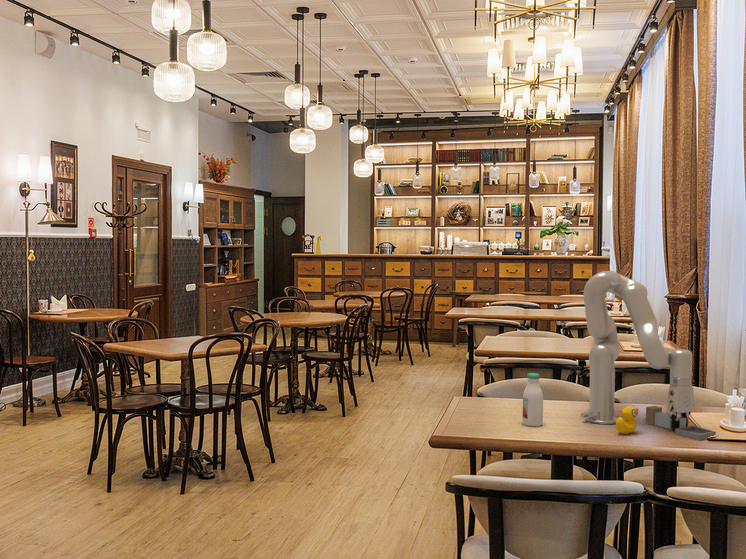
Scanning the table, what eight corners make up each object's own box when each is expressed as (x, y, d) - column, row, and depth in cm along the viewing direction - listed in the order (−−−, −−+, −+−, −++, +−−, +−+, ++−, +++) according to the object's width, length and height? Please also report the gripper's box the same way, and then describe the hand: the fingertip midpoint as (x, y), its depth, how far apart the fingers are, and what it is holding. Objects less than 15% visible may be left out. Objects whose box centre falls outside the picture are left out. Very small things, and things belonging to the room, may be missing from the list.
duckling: (631, 429, 261) (631, 403, 260) (643, 432, 256) (643, 406, 256) (611, 433, 255) (612, 407, 254) (623, 437, 250) (624, 410, 250)
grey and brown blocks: (668, 429, 261) (668, 412, 261) (645, 423, 270) (646, 407, 270) (677, 427, 263) (677, 411, 263) (654, 421, 273) (654, 405, 272)
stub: (679, 432, 257) (680, 418, 257) (670, 429, 261) (670, 416, 261) (685, 431, 259) (686, 417, 259) (676, 428, 263) (677, 415, 262)
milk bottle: (544, 423, 269) (545, 373, 268) (540, 427, 262) (541, 376, 261) (524, 421, 272) (525, 371, 271) (520, 425, 265) (521, 374, 264)
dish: (698, 440, 246) (698, 434, 246) (675, 434, 254) (675, 428, 254) (715, 437, 251) (715, 431, 251) (692, 430, 259) (692, 425, 259)
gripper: (674, 385, 251) (673, 434, 252) (703, 381, 260) (702, 429, 260) (657, 382, 258) (656, 430, 259) (686, 378, 266) (685, 424, 267)
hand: (679, 429), depth 260 cm, fingers open, 4 cm apart
